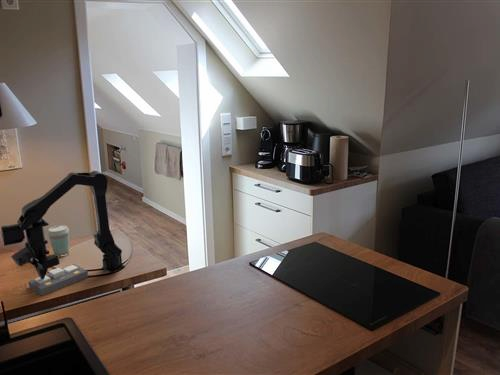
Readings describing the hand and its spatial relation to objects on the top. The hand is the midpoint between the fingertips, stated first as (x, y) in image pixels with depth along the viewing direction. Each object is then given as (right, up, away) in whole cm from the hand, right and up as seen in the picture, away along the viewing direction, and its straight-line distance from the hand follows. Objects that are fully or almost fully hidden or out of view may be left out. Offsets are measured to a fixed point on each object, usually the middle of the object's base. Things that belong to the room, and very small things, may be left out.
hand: (42, 278), depth 160 cm
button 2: (+7, 0, +9) cm, 11 cm away
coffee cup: (-6, +4, +29) cm, 30 cm away
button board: (+4, -2, +4) cm, 7 cm away
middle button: (+3, 0, +4) cm, 6 cm away
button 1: (0, -2, +1) cm, 2 cm away
